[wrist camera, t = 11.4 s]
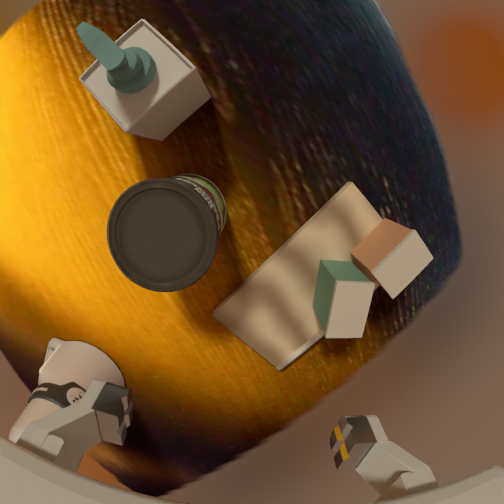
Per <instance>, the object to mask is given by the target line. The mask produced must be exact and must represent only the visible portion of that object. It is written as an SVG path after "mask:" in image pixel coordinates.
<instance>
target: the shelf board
mask: <svg viewBox="0 0 504 504" xmlns="http://www.w3.org/2000/svg"><path fill="white" fill-rule="evenodd" d="M381 221H382V218H381V217H380V216H379V215H378V213H377V212H376V211H375V209H374V208H373V207H372V206H371V204H370V203H369V202H368V201H367V199H366V198H365V197H364V196H363V195H362V193H361V192H360V191H359V190H358V188H357V187H356V186H355V185H354V184H353V183H352V182H347V183H346V184H345V185H344V186H343V187H342V188H341V189H340V190H339V191H338V192H337V193H336V194H335V195H334V196H333V197H332V198H331V199H330V200H329V201H328V202H327V203H326V204H325V205H324V206H323V207H322V208H321V209H320V210H319V211H318V212H317V213H316V214H314V215H313V216H312V217H311V218H310V219H309V220H308V221H307V222H306V223H305V224H304V225H303V226H302V227H301V228H300V229H299V230H298V231H297V232H296V233H295V234H294V235H293V236H292V237H290V238H289V239H288V240H287V241H286V242H285V243H284V244H283V245H282V246H281V247H280V248H279V249H278V250H277V251H276V252H275V253H274V254H273V255H272V256H271V257H269V258H268V259H267V260H266V261H265V262H264V263H263V264H262V265H261V266H260V267H259V268H258V269H257V270H256V271H255V272H254V273H253V274H251V275H250V276H249V277H248V278H247V279H246V280H245V281H244V282H243V283H242V284H241V285H240V286H239V287H238V288H237V289H236V290H234V291H233V292H232V293H231V294H230V295H229V296H228V297H227V298H226V299H225V300H224V301H223V302H222V303H221V304H219V305H218V306H217V307H216V308H215V309H214V310H213V313H212V316H213V317H214V318H216V319H217V320H218V321H219V322H220V323H221V324H223V325H224V326H225V327H226V328H228V329H229V330H230V331H231V332H232V333H234V334H235V335H236V336H237V337H239V338H240V339H241V340H242V341H243V342H245V343H246V344H247V345H248V346H250V347H251V348H252V349H254V350H255V351H256V352H257V353H259V354H260V355H261V356H262V357H264V358H265V359H266V360H268V361H269V362H270V363H271V364H273V365H274V366H275V367H276V368H277V369H278V370H280V371H281V370H282V369H284V368H285V367H286V366H287V365H289V364H290V363H291V362H293V361H294V360H295V359H296V358H298V357H299V356H300V355H301V354H303V353H304V352H305V351H306V350H308V349H309V348H310V347H311V346H313V345H314V344H315V343H316V342H317V341H319V340H320V339H321V338H322V337H323V336H325V332H324V330H323V328H322V326H321V323H320V321H319V319H318V317H317V315H316V312H315V310H314V308H313V300H314V294H315V288H316V282H317V275H318V269H319V262H320V259H322V260H336V261H351V262H352V263H353V264H354V265H355V266H356V267H357V268H358V269H359V270H360V271H361V272H362V273H363V274H364V275H365V276H366V277H367V278H368V279H369V280H370V281H371V282H373V283H374V284H375V286H374V291H375V290H376V289H377V288H378V287H379V286H380V285H379V284H378V283H377V282H376V281H375V280H374V279H373V278H372V277H371V276H370V275H369V274H368V273H367V272H366V271H365V269H364V268H363V267H362V266H361V265H360V263H359V262H358V261H357V260H356V259H355V258H354V256H353V255H352V254H351V253H350V252H351V251H352V250H353V249H354V248H355V247H356V246H357V245H358V244H359V243H360V242H361V241H362V240H363V239H364V238H365V237H366V236H367V235H368V234H369V233H370V232H371V231H372V230H373V229H374V228H375V227H376V226H377V225H378V224H379V223H380V222H381ZM374 291H373V292H374Z"/></svg>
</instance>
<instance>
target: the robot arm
mask: <svg viewBox="0 0 504 504" xmlns="http://www.w3.org/2000/svg"><path fill="white" fill-rule="evenodd" d="M39 373H40V375H39V382H38V387H37V388H36V389H35V390H34V391H33V393H32V394H31V397H30V398H29V401H28V406H27V407H26V408H25V410H24V411H23V413H22V414H21V415H20V417H19V418H18V420H17V421H16V423H15V424H14V425H13V427H12V428H11V430H10V434H9V439H7V438H6V437H4V436H2V435H0V504H188V503H182V502H176V501H171V500H166V499H162V498H157V497H153V496H149V495H145V494H141V493H137V492H133V491H129V490H126V489H122V488H119V487H116V486H113V485H109V484H106V483H104V482H100V481H98V480H95V479H92V478H89V477H87V476H84V475H81V474H79V473H77V471H78V468H79V465H80V463H81V460H82V458H83V455H84V453H85V452H86V451H88V450H89V449H91V448H92V447H94V446H95V445H97V444H98V443H100V442H101V441H102V440H104V441H107V442H110V443H114V444H117V445H121V446H122V445H123V443H124V440H125V437H126V435H127V431H126V427H128V426H130V424H131V421H132V417H133V410H134V407H133V403H132V402H131V399H132V397H133V393H132V389H129V388H126V387H125V384H124V379H123V376H122V374H121V372H120V370H119V369H118V367H117V366H116V364H115V363H114V362H113V361H112V360H111V359H110V358H109V357H108V356H107V355H106V354H105V353H103V352H102V351H101V350H99V349H97V348H96V347H94V346H92V345H90V344H87V343H84V342H79V341H62V340H60V339H57V338H52V339H51V340H50V342H49V345H48V348H47V352H46V356H45V361H44V365H43V366H42V367H41V369H40V370H39ZM338 425H339V426H338V427H336V428H335V429H334V430H333V432H332V434H331V438H330V445H331V449H332V450H333V451H334V452H335V453H336V455H335V457H334V461H335V464H336V468H337V470H341V469H355V470H356V471H357V472H358V473H359V474H360V475H361V476H362V477H363V478H364V479H365V480H366V481H367V482H368V483H369V484H370V485H371V486H372V487H373V488H374V489H375V490H376V491H377V492H378V493H379V494H380V495H381V496H380V497H379V498H378V499H377V500H376V501H375V502H374V503H367V504H504V468H502V467H500V466H497V465H494V466H491V467H488V468H486V469H483V470H481V471H479V472H476V473H474V474H471V475H469V476H466V477H464V478H461V479H458V480H456V481H453V482H450V483H447V484H444V485H441V486H439V485H438V483H437V482H436V479H435V477H434V475H433V473H432V472H431V469H430V467H429V466H427V465H426V464H424V463H422V462H421V461H420V460H418V459H416V458H415V457H414V456H412V455H411V454H409V453H408V452H406V451H405V450H403V449H402V448H401V447H399V446H398V445H396V444H395V443H393V442H392V441H388V439H387V437H386V435H385V432H384V430H383V428H382V426H381V424H380V422H379V420H378V418H377V416H376V415H365V416H342V417H341V418H340V419H339V421H338Z"/></svg>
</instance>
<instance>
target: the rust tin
mask: <svg viewBox="0 0 504 504" xmlns="http://www.w3.org/2000/svg"><path fill="white" fill-rule="evenodd" d="M350 253H351V254H352V255H353V256H354V258H355V259H356V260H357V261H358V262H359V263H360V265H361V266H362V267H363V268H364V269H365V271H366V272H367V273H368V274H369V275H370V276H371V277H372V278H373V279H374V280H375V281H376V282H377V283H378V284H379V285H380V286H381V287H383V288H384V289H385V290H386V292H387V293H388V294H389V295H390V296H391V298H392V299H394V298H395V297H396V296H397V295H398V294H399V293H400V292H401V291H402V290H403V289H404V288H405V287H406V286H407V285H408V284H409V283H410V282H411V281H412V280H413V279H414V278H415V277H416V276H417V275H418V274H419V273H420V272H421V271H422V270H423V269H424V268H425V267H426V266H427V265H428V263H429V262H430V261H431V260H432V259H433V256H432V255H431V253H430V252H429V250H428V249H427V247H426V245H425V244H424V242H423V241H422V239H421V238H420V236H419V235H418V233H417V232H416V230H411V229H408V228H406V227H404V226H402V225H400V224H397V223H395V222H393V221H391V220H388V219H386V218H384V219H383V220H382V221H381V222H380V223H379V224H378V225H377V226H376V227H375V228H374V229H373V230H372V231H371V232H370V233H369V234H368V235H367V236H366V237H365V238H364V239H363V240H362V241H361V242H360V243H359V244H358V245H357V246H356V247H355V248H354V249H353V250H352V251H351V252H350Z"/></svg>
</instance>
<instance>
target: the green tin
mask: <svg viewBox="0 0 504 504" xmlns="http://www.w3.org/2000/svg"><path fill="white" fill-rule="evenodd" d="M374 286H375V284H374V283H373V282H371V281H370V280H369V279H368V278H367V277H366V276H365V275H364V274H363V273H362V272H361V271H360V270H359V269H358V268H357V267H356V266H355V265H354V264H353V263H352V262H351V261H336V260H322V259H320V262H319V269H318V275H317V282H316V288H315V294H314V300H313V308H314V310H315V312H316V315H317V317H318V319H319V321H320V323H321V326H322V328H323V330H324V332H325V337H326V338H362V335H363V331H364V327H365V323H366V320H367V316H368V312H369V308H370V303H371V299H372V295H373V291H374Z"/></svg>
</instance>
